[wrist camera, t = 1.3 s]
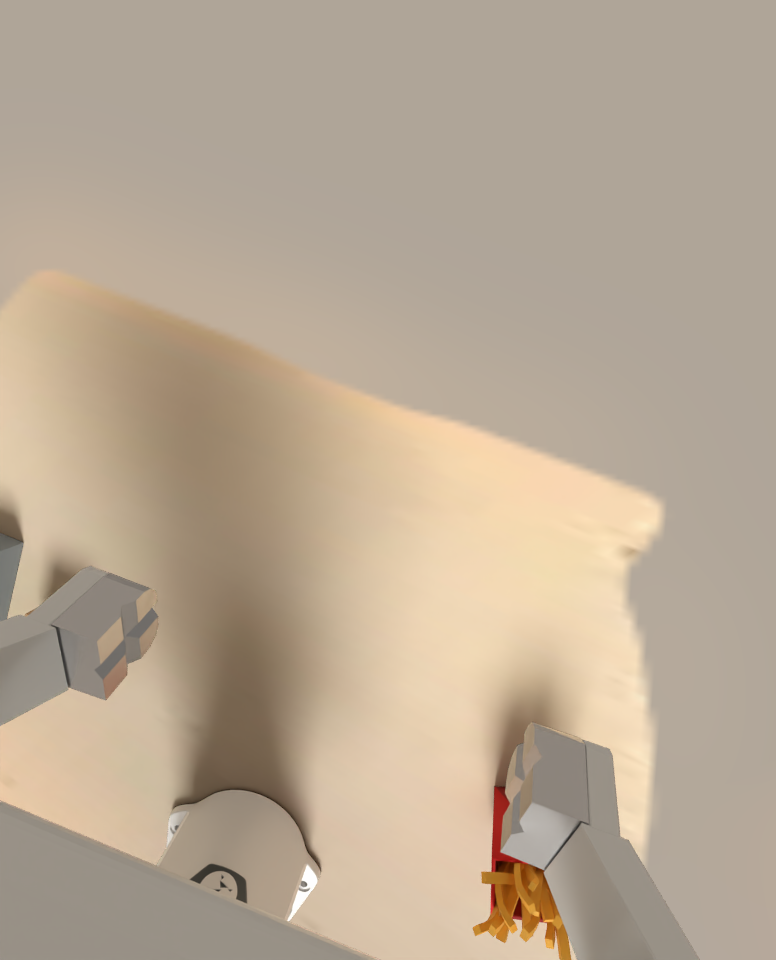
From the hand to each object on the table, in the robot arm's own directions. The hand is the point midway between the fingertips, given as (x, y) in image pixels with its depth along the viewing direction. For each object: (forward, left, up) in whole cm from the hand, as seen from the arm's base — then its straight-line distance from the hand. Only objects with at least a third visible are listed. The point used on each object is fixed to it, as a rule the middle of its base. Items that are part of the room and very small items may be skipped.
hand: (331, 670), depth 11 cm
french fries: (-33, -21, -43) cm, 58 cm away
